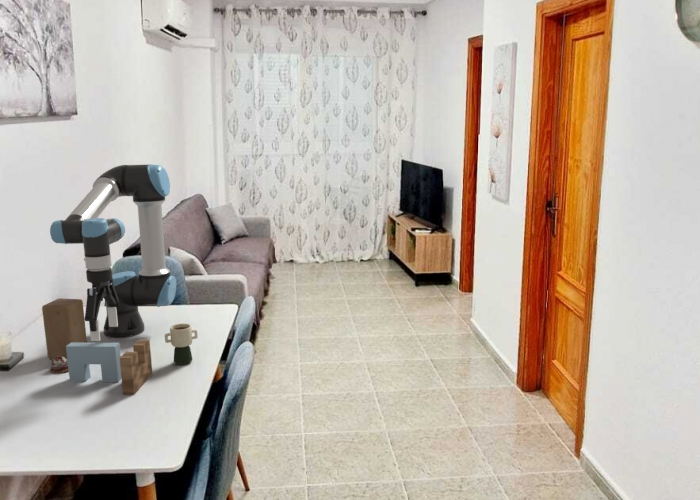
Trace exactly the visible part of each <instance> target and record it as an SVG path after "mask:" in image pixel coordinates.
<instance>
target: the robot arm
mask: <svg viewBox="0 0 700 500" xmlns="http://www.w3.org/2000/svg"><path fill="white" fill-rule="evenodd" d="M170 189H171V183H170V178H169V174H168V172H167V170H166V168H164V167H163V165H160V164H152V163H151V164H122V165H117V166H114V167H111V168H109V169H108V170H107V171H105V172H103V173H102V174H100V176H99V177H97V178H96V180H95V181H94V182H93V183H92V189H90V191H89V192H88V193H87V194H86V195H85V196H84V198H83V199H82V200H81V201H80V202H79V203H78V204H77V205H76V207H75V208H74V209H73V211H71V213H70V214H69V215H68V216H67V217H66V218H65V220H62V219H60V220H55V221H53V222H52V223H51V225H50V229H49V234H50V238H51V240H52V242H54V243H56V244H63V245H69V244H70V245H73V244H82V245H83V250H84V253H83V255H84V259H83V260H84V264H85V269H86V271H85V275H86V281H87V282H88V283H91V288H89V287H88V288H87V289H86V295H87V297H86V305H85V312H84V319H85V322H89V323H88V325H89V333H90V334H89V335H90V341H91V342H100V341H101V332H100V322H99V321H100V320H99V319H98V316H99V311H100V307H101V304H102V303H101V302H103V300H105V308H106V317H105V320H104V321H105V322H104V324H103V335H104V336H105V337H108V338H115V339H117V338H118V339H120V338H121V339H122V338H128V337H133V336H137V335H139V334H142V333H143V332H144V331H145V322H144V320H143V318H142V315H141V314H140V312H139V307H158V308H160V307H168V306H170V305H171V304H172V303H173V301H174V299H175V296H176V291H177V279H176V277H175V276H174V275H171V270H170V269H169V268H168V267H167V266H166V253H165V238H164V221H163V207H162V205H163V204H164V203H165V202H166V197H168V196H169V195H170V191H171V190H170ZM120 197H132V202H133V203H134V204H135V205H136V206H137V214H138V217H137V218H138V228H139V230H138V231H139V239H140V241H139V242H140V255H141V267H142V268H141V269H140V270H139V272H138V275H136V272H135V271H131V270H128V271H127V270H126V271H121V272H116V273H114V274H113V271H112V270H113V269H112V268H111V267H112V258H111V257H112V256H111V248H110V246H111V244H114V243H117V242H118V241H120V240H121V239H122V238H123V237H124V236H125V233H126V227H125V224H124V223H123V222H122V221H121V220H120V219H118V218H116V217H113V218H107V219H105V218H103V217H99V216H100V215H101V214H102V213H103V211H105V209H106V207H107V206H109V204H110V203H111V202H114V201H115V200H117V199H118V198H120Z"/></svg>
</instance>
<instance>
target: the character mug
mask: <svg viewBox="0 0 700 500" xmlns="http://www.w3.org/2000/svg"><path fill="white" fill-rule="evenodd" d="M193 333H194V335H193ZM198 335H199V334H198V330H197V329H192V324H189V323H175V324H173V325H171V326H170V327H169V332H168V333H164V341H165V343H166V344H168V343H170V344H171V346H172V347H174V350H173V363H175V364H177V365H185V364H186V365H187V364H189V363H191V362H192V361H193V356H192V355H193V354H192V350H191V345H192V344H193V340H196V339H198ZM169 337H170V339H169Z"/></svg>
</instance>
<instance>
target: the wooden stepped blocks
mask: <svg viewBox="0 0 700 500" xmlns="http://www.w3.org/2000/svg"><path fill="white" fill-rule="evenodd" d="M150 343H151V340H150V339H148V338H147V339H145V338H139V339H137V341H135V343H134V344H132V349H133V351H130V350H129V351H128V350H126V351H124V353H123V354H121V357H120V367H121V378H122V379H121V386H122V395H123V396H126V395H127V396H128V395H132V396H133V395H136V393H137V392H138V391H140V389H141V388H142V387H143V385H144V384H145V383H146V382H147V381H148V380H149V379H150V377H151V376H152V375H153V367H152V366H153V365H152V352H151V344H150Z"/></svg>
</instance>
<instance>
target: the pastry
mask: <svg viewBox="0 0 700 500" xmlns="http://www.w3.org/2000/svg"><path fill="white" fill-rule="evenodd" d="M49 370H50V372H51V373H53V374H65V373H69V369H68V360H67V359H65V358H64V357H61V356H56V359H55V360H52V363H51V366H50V368H49Z"/></svg>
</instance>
